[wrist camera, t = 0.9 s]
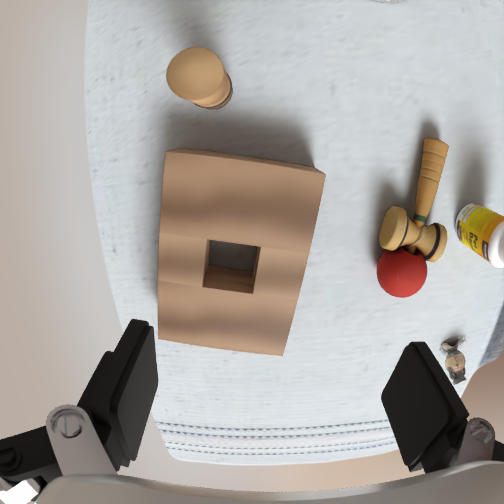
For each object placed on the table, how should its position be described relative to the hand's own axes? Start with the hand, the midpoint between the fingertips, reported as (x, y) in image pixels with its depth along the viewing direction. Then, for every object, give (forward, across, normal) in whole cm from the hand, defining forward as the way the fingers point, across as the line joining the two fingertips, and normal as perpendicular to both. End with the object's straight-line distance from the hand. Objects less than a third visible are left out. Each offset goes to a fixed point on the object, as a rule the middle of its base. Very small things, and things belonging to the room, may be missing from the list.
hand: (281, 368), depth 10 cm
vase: (+24, -33, +19) cm, 45 cm away
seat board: (+24, +3, +5) cm, 24 cm away
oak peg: (+24, +6, -11) cm, 27 cm away
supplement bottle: (+24, -27, -2) cm, 36 cm away
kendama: (+24, -17, -1) cm, 29 cm away
